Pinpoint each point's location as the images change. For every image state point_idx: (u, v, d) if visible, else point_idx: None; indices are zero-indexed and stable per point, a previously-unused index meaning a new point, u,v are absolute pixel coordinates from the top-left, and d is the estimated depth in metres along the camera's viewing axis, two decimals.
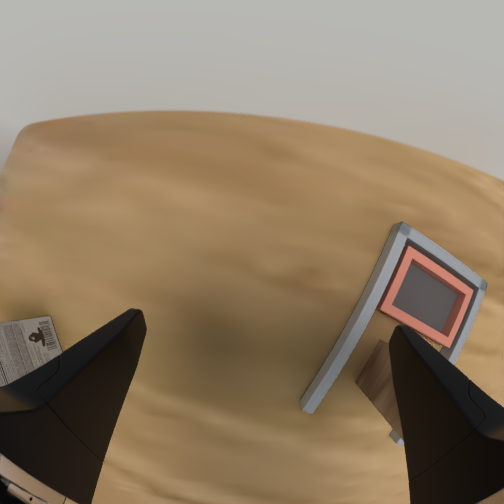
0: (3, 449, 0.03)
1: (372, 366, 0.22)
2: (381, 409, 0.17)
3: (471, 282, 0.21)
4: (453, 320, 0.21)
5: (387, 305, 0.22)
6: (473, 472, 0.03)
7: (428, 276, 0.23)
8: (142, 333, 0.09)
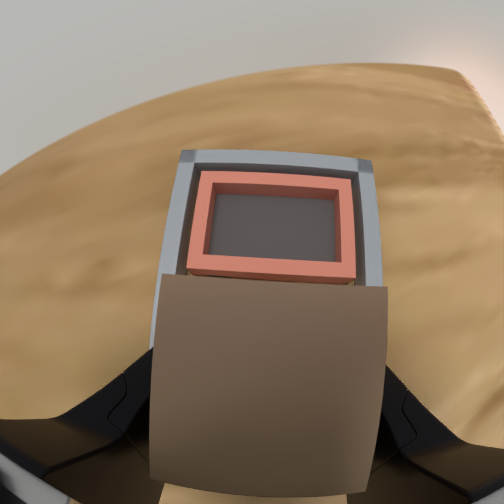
0: (80, 496, 0.03)
1: None
2: None
3: (338, 170, 0.16)
4: (339, 234, 0.16)
5: (196, 257, 0.15)
6: (396, 497, 0.04)
7: (264, 198, 0.18)
8: None
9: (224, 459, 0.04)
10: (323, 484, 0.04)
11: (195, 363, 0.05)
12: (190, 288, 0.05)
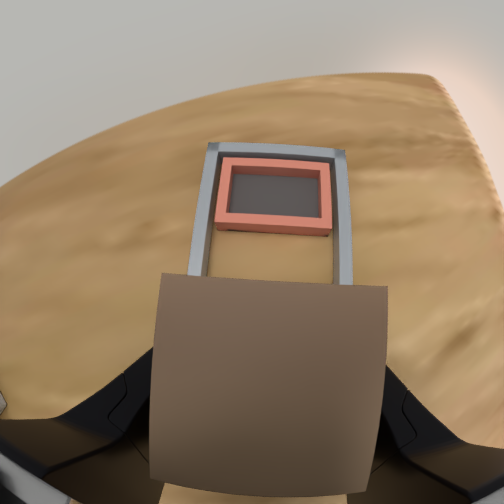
0: (80, 497, 0.03)
1: None
2: None
3: (320, 157, 0.23)
4: (320, 200, 0.23)
5: (221, 215, 0.22)
6: (397, 497, 0.04)
7: (268, 177, 0.24)
8: None
9: (224, 458, 0.04)
10: (323, 484, 0.04)
11: (195, 363, 0.05)
12: (190, 288, 0.05)
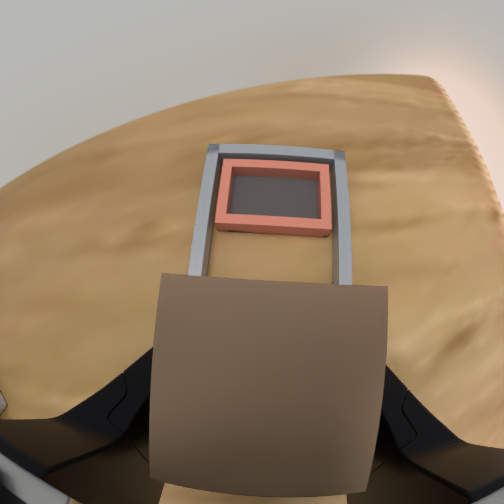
0: (80, 496, 0.03)
1: None
2: None
3: (320, 158, 0.23)
4: (320, 201, 0.23)
5: (221, 216, 0.22)
6: (397, 497, 0.04)
7: (268, 178, 0.25)
8: None
9: (224, 459, 0.04)
10: (323, 484, 0.04)
11: (195, 362, 0.05)
12: (190, 288, 0.05)
